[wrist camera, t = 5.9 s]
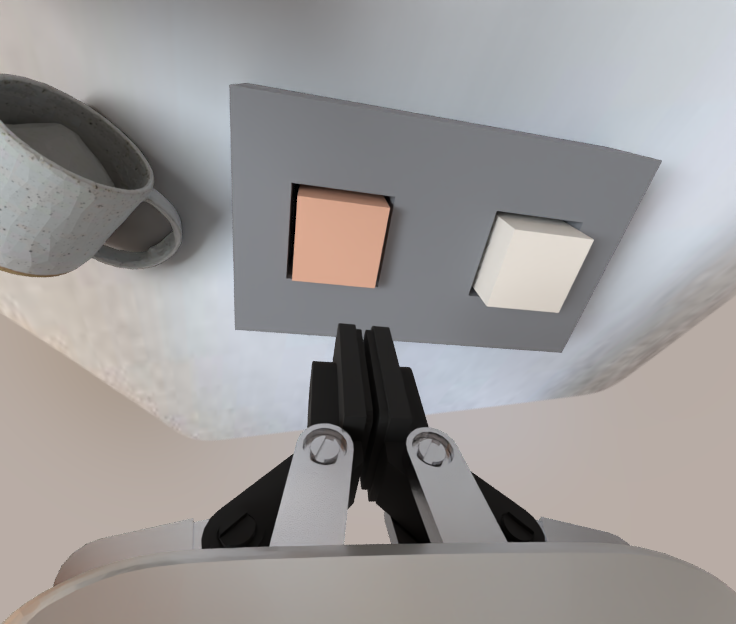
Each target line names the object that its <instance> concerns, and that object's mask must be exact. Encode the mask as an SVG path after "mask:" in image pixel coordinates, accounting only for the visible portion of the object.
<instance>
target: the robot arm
mask: <svg viewBox="0 0 736 624" xmlns="http://www.w3.org/2000/svg"><path fill="white" fill-rule="evenodd" d="M359 478H360V481H361V488H362V489H365V490H368V500H369V501H376V504H377V505H379V506H380V507H381V508H382V509H383V510H384V511H385V512H384V519H385V524H386V527H387V531H388V534H389V538H390V542H391V544H369V545H367V544H366V545H344V538H345V529H346V520H347V510H348V508H349V507H350V506H351V505H352V504H353V503H354V498H355V494H356V490H357V486H358V482H359ZM2 624H736V592H735V591H733V590H732V589H731V588H730V587H729V586H727V584H725V583H724V582H722V581H721V580H719V579H718V578H717V577H715V576H714V575H712V574H710V573H709V572H706V571H705V570H703V569H701V568H699V567H697V566H695V565H693V564H690V563H688V562H686V561H683V560H681V559H678V558H675V557H673V556H670V555H667V554H665V553H661V552H657V551H653V550H649V549H645V548H641V547H636V546H630V545H629V544H628V543H627V542H625V541H624V540H623V539H621V538H620V537H618V536H616V535H613V534H611V533H608V532H603V531H600V530H595V529H591V528H587V527H582V526H578V525H574V524H570V523H565V522H561V521H557V520H553V519H548V518H544V517H541V518H540V519H539V520H535V519H534V517H532V516H531V515H530V514H529V513H528V512H527V511H526V510H524V509H523V508H521V507H520V506H519V505H517V504H516V503H515V502H513V501H512V500H510V499H509V498H508V497H506V496H505V495H503V494H502V493H500V492H499V491H498V490H496V489H495V488H493V487H492V486H491V485H489V484H488V483H486V482H485V481H484V480H482V479H481V478H479V477H478V476H477V475H475V474H474V473H472V472H471V471H470V469H469V467H468V466H467V464H466V462H465V460H464V458H463V456H462V454H461V452H460V450H459V448H458V446H457V445H456V444H455V442H454V441H453V439H451V438H450V437H449V436H448V435H447V434H445V433H444V432H442V431H440V430H438V429H434V428H429V427H428V424H427V420H426V417H425V413H424V410H423V407H422V403H421V400H420V396H419V393H418V389H417V386H416V383H415V379H414V376H413V372H412V370H411V368H410V367H399V363H398V359H397V355H396V351H395V348H394V344H393V340H392V336H391V332H390V328H389V327H381V326H372V328H371V330H365V334H364V339H363V337H362V330H361V329H356V325H355V324H344V323H339V324H338V328H337V335H336V342H335V349H334V356H333V362H318V361H313V362H312V370H311V379H310V390H309V404H308V425H307V429H305V430H304V431H303V432H302V433H301V434H300V436H299V438H298V440H297V443H296V447H295V451H294V454H292V455H291V456H290V457H288V458H287V459H286V460H284V461H283V462H282V463H281V464H279V465H278V466H277V467H275V468H274V469H273V470H271V471H270V472H269V473H267V474H266V475H265V476H263V477H262V478H261V479H259V480H258V481H257V482H255V483H254V484H253V485H251V486H250V487H249V488H247V489H246V490H245V491H243V492H242V493H241V494H240V495H238V496H237V497H236V498H234V499H233V500H232V501H230V502H229V503H228V504H226V505H225V506H224V507H222V508H221V509H220V510H218V511H217V512H216V513H215V514H214V516H212V517H211V518H210V519H207V520H203V521H198V522H194V521H193V519H188V520H183V521H179V522H174V523H169V524H165V525H160V526H156V527H151V528H147V529H143V530H138V531H133V532H129V533H124V534H120V535H115V536H111V537H106V538H102V539H98V540H96V541H93V542H90V543H88V544H85V545H84V546H83V547H81V548H80V549H78V550H77V551H75V552H74V553H73V554H72V555H71V556H70V557H69V558H68V559H67V560H66V562H65V563H64V564H63V565H62V566H61V568H60V570H59V573H58V575H57V577H56V579H55V582H54V586H53V587H52V588H50V589H48V590H46V591H44V592H42V593H41V594H39V595H38V596H36V597H34V598H33V599H31V600H30V601H28V602H27V603H25V604H23V605H22V606H21V607H20V608H19V609H17V610H16V611H14V612H13V613H12V614H11V615H10V616H9V617H8V618H7V619H6V620H5V621H4V622H2Z"/></svg>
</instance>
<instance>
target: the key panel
mask: <svg viewBox="0 0 736 624" xmlns="http://www.w3.org/2000/svg"><path fill="white" fill-rule="evenodd" d="M230 128H231V173H232V217H233V262H234V307H235V330H247V331H261V332H276V333H290V334H304V335H318V336H332V337H336V335H337V328H338V324H339V323H344V324H355V325H356V329H361V330H362V337H363V339H364V334H365V330H371V328H372V326H381V327H389V328H390V332H391V336H392V340H393V341H403V342H418V343H432V344H446V345H460V346H475V347H489V348H503V349H517V350H531V351H546V352H560V353H562V351H563V349H564V347H565V345H566V343H567V342H568V340H569V338H570V336H571V334H572V332H573V330H574V328H575V326H576V324H577V322H578V320H579V319H580V317H581V315H582V313H583V311H584V309H585V307H586V305H587V303H588V301H589V299H590V298H591V296H592V294H593V292H594V290H595V288H596V286H597V284H598V282H599V280H600V278H601V277H602V275H603V273H604V271H605V269H606V267H607V265H608V263H609V261H610V259H611V257H612V256H613V254H614V252H615V250H616V248H617V246H618V244H619V242H620V240H621V238H622V236H623V235H624V233H625V231H626V229H627V227H628V225H629V223H630V221H631V219H632V217H633V215H634V213H635V212H636V210H637V208H638V206H639V204H640V202H641V200H642V198H643V196H644V194H645V192H646V191H647V189H648V187H649V185H650V183H651V181H652V179H653V177H654V175H655V173H656V171H657V170H658V168H659V166H660V164H661V162H662V161H661V160H657V159H653V158H649V157H645V156H641V155H637V154H633V153H629V152H625V151H621V150H617V149H613V148H609V147H604V146H598V145H592V144H587V143H581V142H575V141H570V140H564V139H559V138H553V137H547V136H542V135H536V134H530V133H525V132H519V131H514V130H508V129H502V128H497V127H491V126H485V125H480V124H474V123H469V122H463V121H457V120H452V119H446V118H440V117H435V116H429V115H423V114H418V113H412V112H407V111H401V110H395V109H390V108H384V107H378V106H373V105H367V104H362V103H356V102H350V101H345V100H339V99H333V98H328V97H322V96H316V95H311V94H305V93H300V92H294V91H288V90H283V89H277V88H271V87H266V86H260V85H255V84H249V83H243V84H233V85H230ZM295 183H298V184H305V185H312V186H320V187H327V188H334V189H341V190H349V191H356V192H363V193H371V194H378V195H383V196H384V197H385V199H386V201H387V203H388V205H389V207H390V211H389V216H388V221H387V227H386V232H385V237H384V242H383V248H382V253H381V258H380V263H379V269H378V274H377V279H376V285H375V288H366V287H355V286H345V285H334V284H323V283H313V282H302V281H292V274H293V258H294V248H291V247H292V231H293V214H294V198H295ZM497 211H502V212H509V213H517V214H524V215H531V216H538V217H546V218H553V219H560V220H562V221H564V222H565V223H567V224H569V225H570V226H572V227H574V228H575V229H577V230H579V231H580V232H582V233H584V234H585V235H587V236H589V237H590V238H592V239H594V241H593V243H592V245H591V247H590V249H589V252H588V254H587V256H586V258H585V260H584V262H583V264H582V266H581V268H580V270H579V272H578V274H577V276H576V278H575V280H574V282H573V284H572V286H571V289H570V291H569V293H568V295H567V297H566V299H565V301H564V303H563V305H562V307H561V309H560V311H559V313H555V312H543V311H532V310H521V309H510V308H499V307H488V306H486V305H485V303H484V302H483V300H482V299H481V298H480V296H479V295H478V294H477V292H476V291H475V289H474V288H473V287H472V283H473V280H474V277H475V274H476V271H477V268H478V265H479V263H480V260H481V257H482V254H483V251H484V248H485V245H486V242H487V239H488V236H489V233H490V230H491V227H492V224H493V221H494V218H495V215H496V212H497Z"/></svg>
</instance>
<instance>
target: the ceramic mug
mask: <svg viewBox="0 0 736 624" xmlns="http://www.w3.org/2000/svg"><path fill="white" fill-rule="evenodd" d="M153 186H154V175H153V171H152V169H151V167H150V164H149V163H148V161H147V160H146V158H145V157H144V155H143V154H142V152H141V151H140V150H139V149H138V148H137V146H136V145H135V144H134V143H133V142H132V141H131V140H130V139H129V138H128V137H127V136H125V135H124V134H123V133H122V132H121V131H120V130H119V129H118V128H117V127H116V126H115V125H113V124H112V123H111V122H110V121H108V120H107V119H106V118H104V117H103V116H102V115H100V114H99V113H98V112H96V111H94V110H93V109H92V108H90V107H89V106H87V105H86V104H84V103H83V102H81V101H79V100H77V99H75V98H73V97H72V96H70V95H68V94H66V93H64V92H62V91H60V90H58V89H56V88H54V87H52V86H49V85H47V84H45V83H41V82H38V81H35V80H32V79H29V78H26V77H21V76H16V75H10V74H0V270H1V271H5V272H8V273H11V274H16V275H22V276H29V277H53V276H59V275H62V274H66V273H68V272H71V271H73V270H75V269H77V268H78V267H80V266H81V265H82V264H84V263H85V262H87V261H88V260H89V259H90V258H94V259H96V260H97V261H100V262H102V263H105V264H108V265H112V266H115V267H119V268H127V269H143V268H149V267H153V266H156V265H158V264H161V263H162V262H164V261H166V260H168V259H169V258H170V257H171V256H172V255H173V254H174V253H175V252H176V251H177V250H178V248H179V247H180V245H181V243H182V229H181V221H180V218H179V215H178V213H177V211H176V209H175V208H174V207H173V205H172V204H171V203H170V202H169V201H168V200H167V199H166V198H165V197H164V196H163V195H162V194H160V193H159V192H158V191H157V190H155V189H154V188H153ZM143 201H144V202H147V203H149V204H151V205H153V206H154V207H155V208H156V209H157V210H158V211H159V212H161V213H162V214H163V215H164V216H165V217H166V219H167V220H168V221H169V222H170V224H171V227H172V229H173V231H172V232H171V233H170V234H169V235H167V236H166V237H165V238H164V239H163V240H162V241H161V242H160V243H158V244H157V245H155V246H152V247H150V248H149V250H148V251H146V252H127V251H123V250H117V249H114V248H111V247H108V246H106V245H103V244H104V243H105V242H106V240H107V239H108V238H109V237H110V236H111V234H112V233H113V232H114V231H115V230H116V229H117V228H118V227H119V226H120V225H121V224H122V223H123V222H124V221H125V220H126V219H127V217H128V216H129V215H130V214H131V213H132V212H133V210H134V209H135V208H136V207H137V206H138V205H139V204H140V203H141V202H143Z"/></svg>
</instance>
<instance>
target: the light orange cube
mask: <svg viewBox="0 0 736 624" xmlns="http://www.w3.org/2000/svg"><path fill="white" fill-rule="evenodd" d="M389 211H390V207H389V205H388V203H387V201H386V199H385V197H384V196H383V195H378V194H371V193H363V192H356V191H349V190H341V189H334V188H327V187H320V186H312V185H305V184H300V186H299V191H298V196H297V212H296V227H295V243H294V258H293V274H292V281H302V282H313V283H323V284H334V285H345V286H355V287H366V288H375V285H376V279H377V274H378V269H379V263H380V258H381V253H382V248H383V242H384V237H385V232H386V227H387V221H388V216H389Z"/></svg>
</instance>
